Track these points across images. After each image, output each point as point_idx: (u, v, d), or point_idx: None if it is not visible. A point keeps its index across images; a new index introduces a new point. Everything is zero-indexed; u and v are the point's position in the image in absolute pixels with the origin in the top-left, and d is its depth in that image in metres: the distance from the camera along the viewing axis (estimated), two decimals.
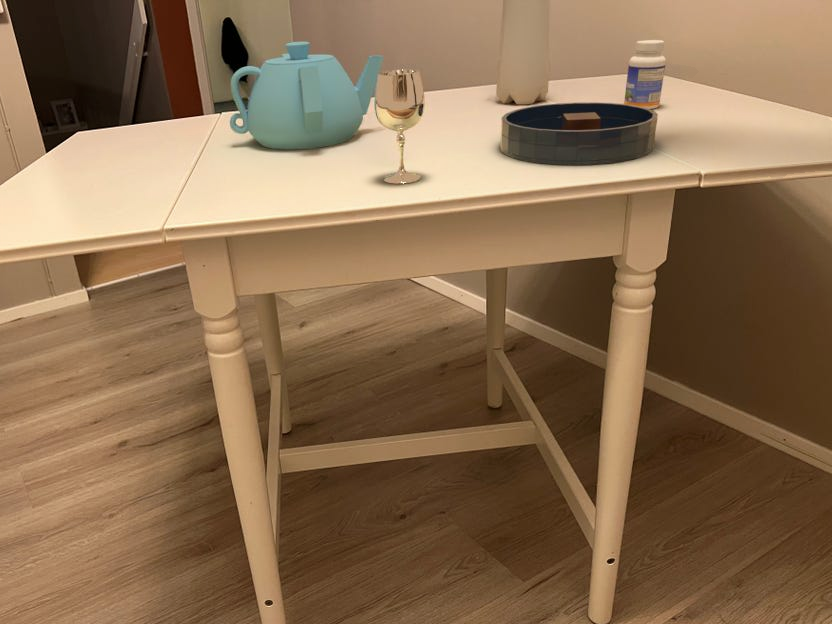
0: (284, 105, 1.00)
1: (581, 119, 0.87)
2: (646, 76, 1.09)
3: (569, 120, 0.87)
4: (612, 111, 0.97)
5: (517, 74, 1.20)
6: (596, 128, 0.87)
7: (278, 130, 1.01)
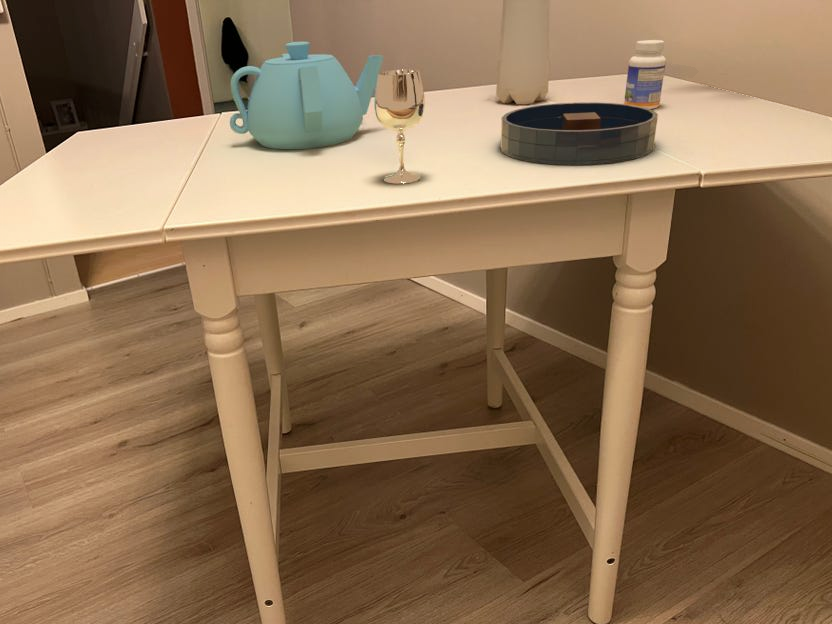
0: (284, 105, 1.00)
1: (581, 119, 0.87)
2: (646, 76, 1.09)
3: (569, 120, 0.87)
4: (612, 111, 0.97)
5: (517, 74, 1.20)
6: (596, 128, 0.87)
7: (278, 130, 1.01)
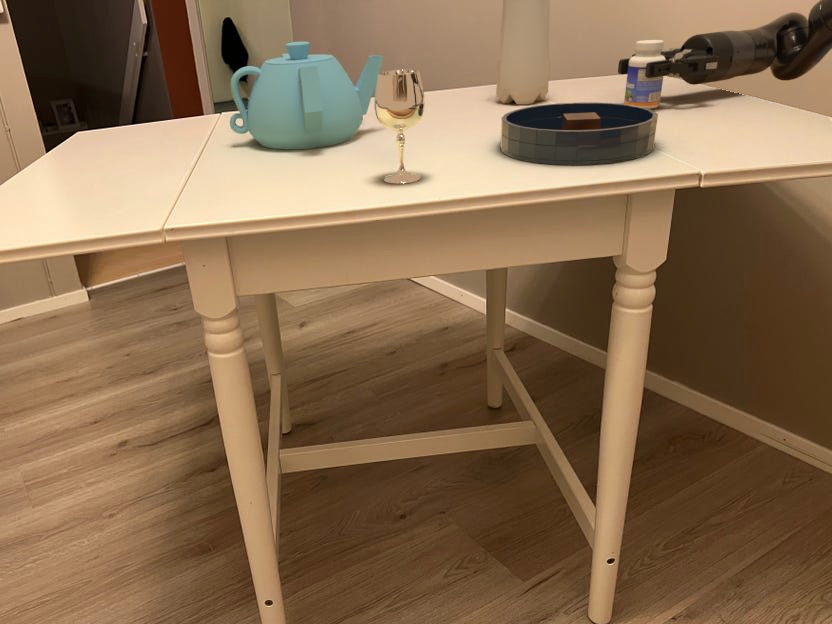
0: (284, 105, 1.00)
1: (581, 119, 0.87)
2: None
3: (569, 120, 0.87)
4: (612, 111, 0.97)
5: (517, 74, 1.20)
6: (596, 128, 0.87)
7: (278, 130, 1.01)
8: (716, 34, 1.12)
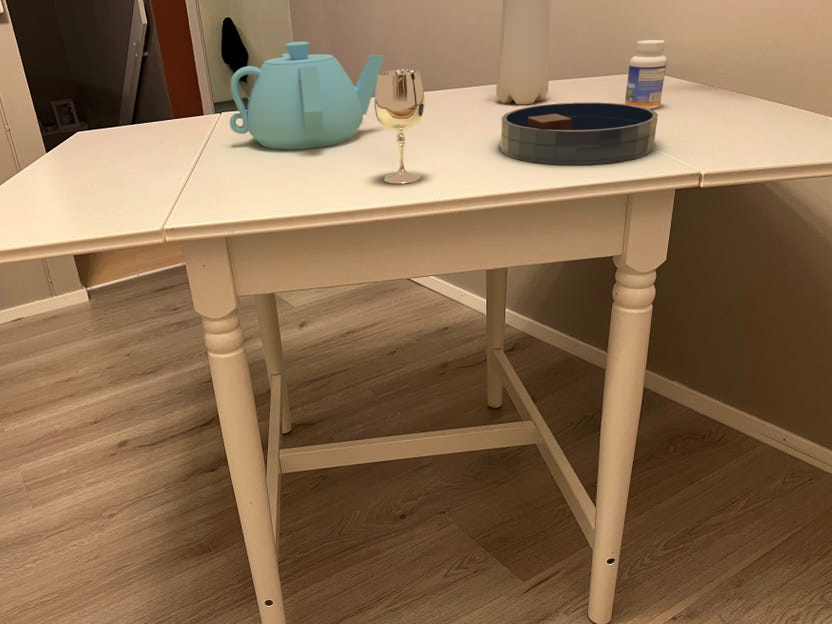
0: (284, 105, 1.00)
1: (554, 121, 0.87)
2: (647, 75, 1.09)
3: (544, 122, 0.87)
4: (612, 111, 0.97)
5: (517, 74, 1.20)
6: (568, 128, 0.88)
7: (278, 130, 1.01)
8: None
